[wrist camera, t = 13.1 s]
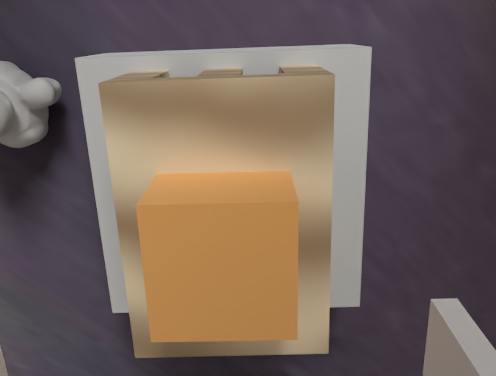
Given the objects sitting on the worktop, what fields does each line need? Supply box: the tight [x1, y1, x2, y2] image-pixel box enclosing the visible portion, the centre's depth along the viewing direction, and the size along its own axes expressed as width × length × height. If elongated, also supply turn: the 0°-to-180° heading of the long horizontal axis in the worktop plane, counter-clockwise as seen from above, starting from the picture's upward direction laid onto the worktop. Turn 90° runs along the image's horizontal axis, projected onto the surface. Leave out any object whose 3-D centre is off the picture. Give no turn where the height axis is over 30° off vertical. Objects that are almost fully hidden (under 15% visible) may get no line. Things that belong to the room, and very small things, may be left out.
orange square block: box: [136, 171, 299, 342], centre depth 20 cm, size 6×6×4 cm
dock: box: [75, 44, 372, 313], centre depth 30 cm, size 16×16×6 cm
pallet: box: [98, 65, 335, 358], centre depth 25 cm, size 14×10×6 cm
